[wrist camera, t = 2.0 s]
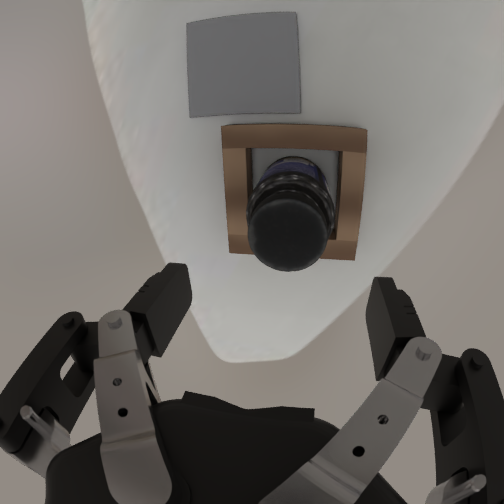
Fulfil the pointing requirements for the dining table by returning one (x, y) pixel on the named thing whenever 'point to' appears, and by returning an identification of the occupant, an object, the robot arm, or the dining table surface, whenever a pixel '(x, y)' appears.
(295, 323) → the dining table surface
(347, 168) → the walnut holder
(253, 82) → the grey pad
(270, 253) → the pill bottle
